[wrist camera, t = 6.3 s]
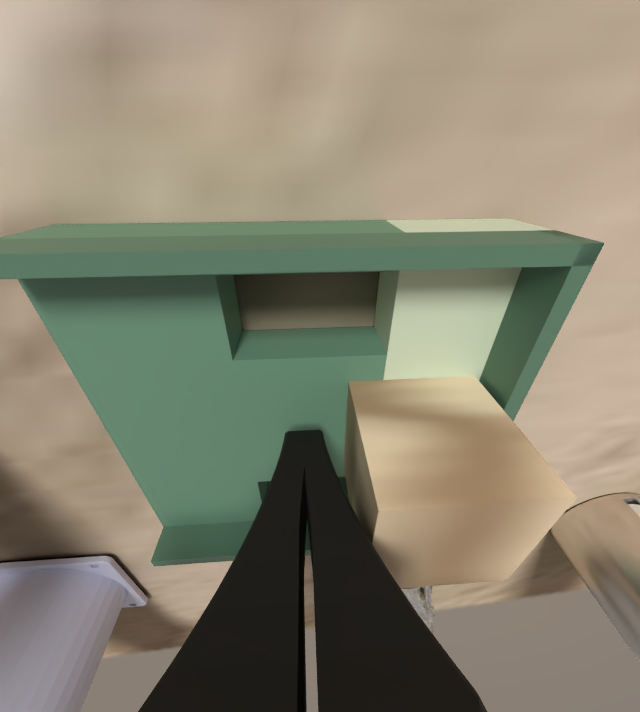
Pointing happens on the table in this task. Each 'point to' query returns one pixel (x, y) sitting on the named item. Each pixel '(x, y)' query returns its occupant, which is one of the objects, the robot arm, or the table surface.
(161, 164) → the table surface
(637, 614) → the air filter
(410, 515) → the beech block
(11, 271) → the box
